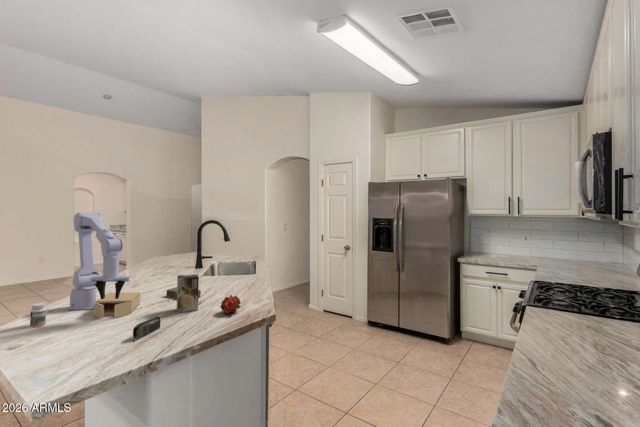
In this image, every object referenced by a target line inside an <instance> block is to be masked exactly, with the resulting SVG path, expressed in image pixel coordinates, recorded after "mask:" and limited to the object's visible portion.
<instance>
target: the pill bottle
mask: <svg viewBox="0 0 640 427" xmlns="http://www.w3.org/2000/svg"><path fill="white" fill-rule="evenodd" d="M29 317H30V318H29V319H30V320H29V321H30V322H29V327H31V328H39V327H42V326H45V325H46V324H47V308H46V303H45V302H36V303H34V304H32V305H31V309H30V316H29Z"/></svg>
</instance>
